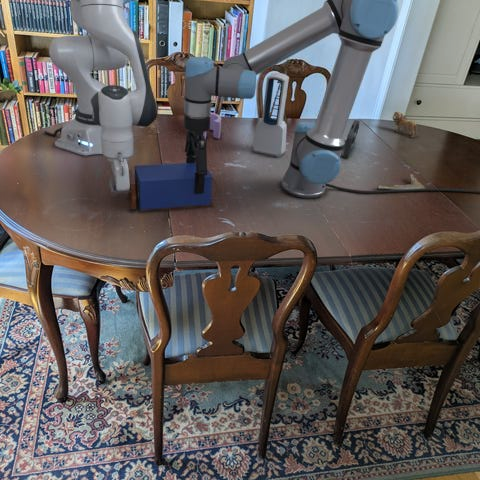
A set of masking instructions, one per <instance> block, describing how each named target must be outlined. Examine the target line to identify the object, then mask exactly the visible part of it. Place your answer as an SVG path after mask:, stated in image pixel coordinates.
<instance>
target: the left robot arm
mask: <svg viewBox="0 0 480 480" xmlns="http://www.w3.org/2000/svg"><path fill="white" fill-rule="evenodd" d="M70 15H71V19H72V21H73V22H74V23H75V25H76V26H77V27H79V28H80V29H81V30H83V31H86V33H87V34H88V35H65V36H64V35H63V36H58V37H55V38H53V39H52V41H51V42H50V44H49V48H48V53H49V58H50V61H51V62H52V64H53V65H54V66H55V67H56V68H57V69H58V70H60V71H61V72H62V73H64V74H65V75H66V76H67V77H68V78H69V80H70V81H71V84H72V85H73V87H74V90H75V94H76V101H77V108H76V109H75V110H74V111H71V115H72V116H74V115H75V116H74V118H73V119H72V120H71V121H69V122H68V123H67V124H65V125H64V126H62V127H59V128H57V129H56V130H54V133H51V132H48V130H44V135H48V136H50V137H56V136H57V134H58V133H59V135H60V137H59V138H57V139H56V140H55V142H54V146H55V147H57V148H59V149H62V150H65V151H69V152H72V153H74V154H78V155H80V156H84V157H85V156H86V157H87V156H92V155H103V156H104V157H106V160H108V162H109V165H110V170H111V173H112V177H113V181H114V182H115V188H116V191H128V190H129V189H130V182H129V170H130V169H129V164H128V161H129V160H130V158H131V156H133V155H134V153H135V145H134V144H135V142H134V140H135V139H134V133H133V128H132V127H133V126H135V127H149V126H150V125H152V124H153V123H154V122H155V121H156V120H157V118H158V104H157V101H156V98H155V94H154V92H153V88H152V85H151V81H150V76H149V72H148V67H147V63H146V59H145V55H144V51H143V47H142V43H141V40H140V37H139V35H138V33H137V31H136V30H134V29H132V28H131V27H130V25H129V23H128V21H127V19H126V17H125V12H124V2H123V0H70ZM128 63H129V64H130V68H131V72H132V76H133V79H134V84H135V90H128V89H127V88H126V87H124V86H121V85H118V84H117V85H116V84H110V85H109V84H108V85H106V84H105V83H103V82H102V81H100V80H98V79H96V78H93V76H91V72H96V71H97V72H98V71H102V72H103V71H114V70H115V71H116V70H119V69H123V68H125V67H126V66H127V64H128Z"/></svg>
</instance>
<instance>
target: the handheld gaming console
mask: <svg viewBox="0 0 480 480" xmlns="http://www.w3.org/2000/svg"><path fill="white" fill-rule="evenodd" d="M360 123H361V122H360V120H358V119H354V120H353V122H352V124H351V127H350V129H349V131H348V133H347V135H346V136H347V137H346V141H345V144H344V148H343V154H342V158H343V159H349V158H350V156H351V153H352V151H353V148H354V145H355V144H356V141H357V136H358V133H359V129H360Z"/></svg>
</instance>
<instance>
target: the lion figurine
mask: <svg viewBox="0 0 480 480" xmlns="http://www.w3.org/2000/svg"><path fill="white" fill-rule="evenodd" d="M392 121H393V122H394V123H395V125H396V126H397V129H396V130H395V132H396V133H399V132H400V131H401V130H402V128H405V129H409V135H410V138H414V137H415V136H416V135H417V136H416V137H417V138H419V137H420V136H419V135H418V134H417V129H418V128H417V123H416V122H415V121H414V120H409V119H408V118H406V115H404V114H403V113H402V112H401V111H395V112H394V113H393V116H392ZM400 129H401V130H400ZM398 130H400V131H398ZM411 133H412V134H411ZM412 135H413V136H412Z"/></svg>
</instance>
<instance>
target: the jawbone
mask: <svg viewBox="0 0 480 480" xmlns="http://www.w3.org/2000/svg"><path fill="white" fill-rule="evenodd" d="M409 179H410V184H409V183H408V184H393V186H388V185H386V186H385V185H380V184H378V185H377V186H376V188H377V189H378V190H400V189H426V187H425V185H424V184H422V183H421V182H419V181H418V179H417V177H415V176H414V174H413V173H410V174H409Z"/></svg>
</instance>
